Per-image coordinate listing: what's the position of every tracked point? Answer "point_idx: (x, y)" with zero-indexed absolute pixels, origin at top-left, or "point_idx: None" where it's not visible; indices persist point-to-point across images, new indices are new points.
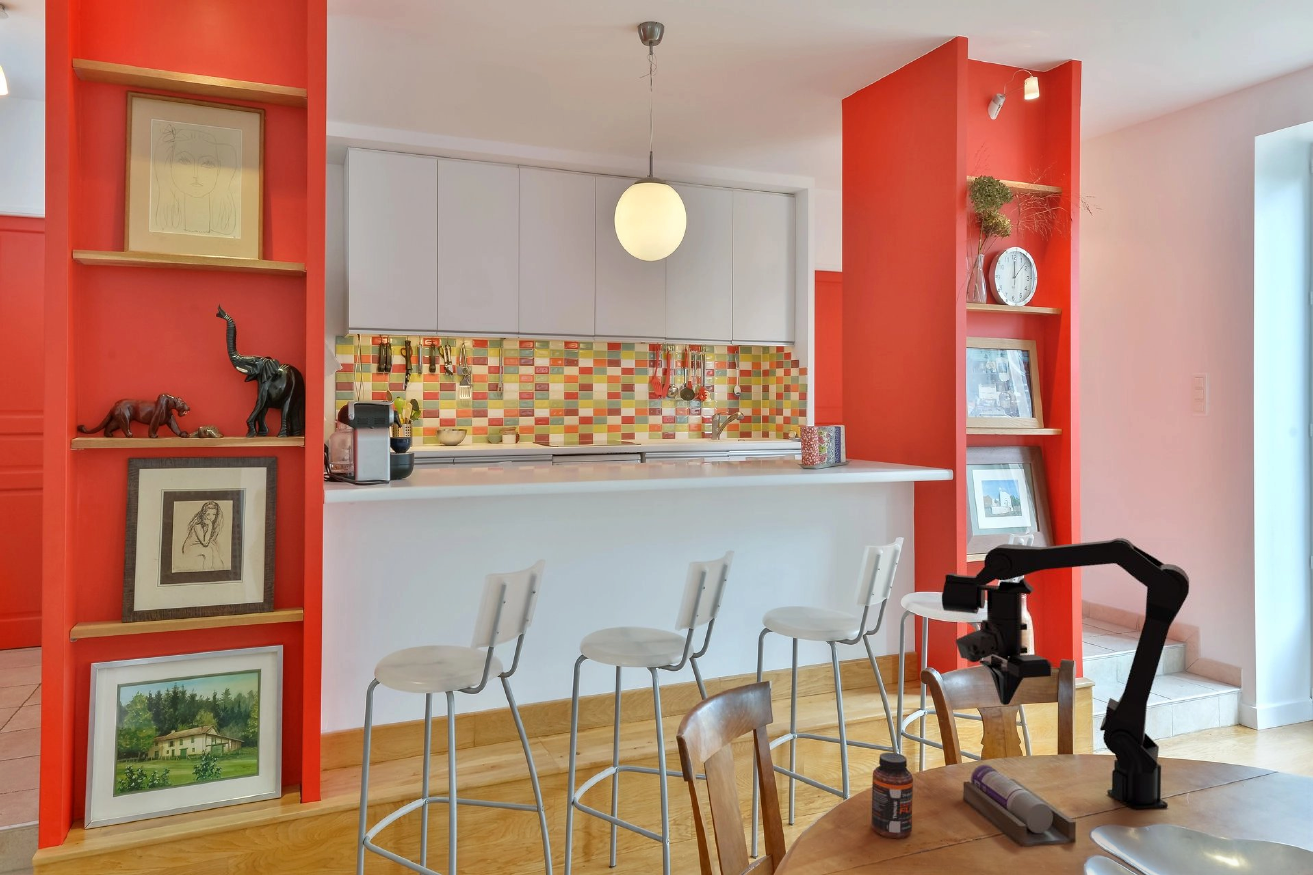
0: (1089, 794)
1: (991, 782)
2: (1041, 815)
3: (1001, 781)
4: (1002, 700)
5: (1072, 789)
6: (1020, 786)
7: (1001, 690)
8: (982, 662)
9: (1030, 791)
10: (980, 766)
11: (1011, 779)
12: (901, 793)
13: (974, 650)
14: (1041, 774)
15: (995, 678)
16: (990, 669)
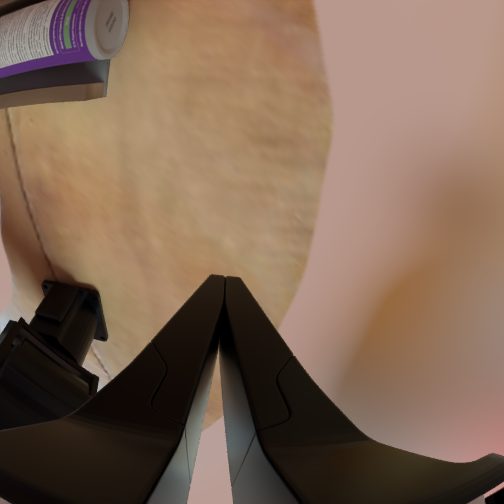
0: (97, 262)
1: (33, 7)
2: None
3: (8, 25)
4: (212, 284)
5: (120, 250)
6: (45, 92)
7: (194, 327)
8: (475, 498)
9: (21, 101)
10: (94, 4)
11: (82, 92)
12: None
13: None
14: (203, 247)
15: (269, 400)
16: (297, 484)
